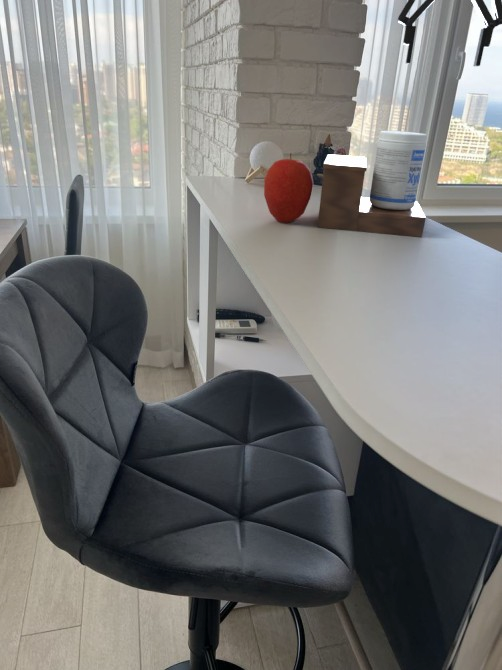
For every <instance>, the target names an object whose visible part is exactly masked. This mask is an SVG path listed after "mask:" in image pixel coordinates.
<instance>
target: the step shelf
mask: <svg viewBox="0 0 502 670" xmlns="http://www.w3.org/2000/svg"><path fill="white" fill-rule="evenodd" d="M367 166H368V165H367V157H365V156H352V155H341V154H327V155H326V158H325V160H324V161H323V164H322V169H323V172H322V180H321V182H322V183H321V191H320V199H319V210H318V218H317V228H321V229H331V230H343V231H352V232H363V233H371V234H372V233H373V234H383V235H393V236H403V237H414V238H423V235H424V229H425V223H426V219H427V218H426V215H425V213H424V212H423V210H422V207H421V205H420V204H419V202H418V201H415V205H414V207H413V208H412V209H409V210H390V209H383V208H378V207H375V206H373V205H372V204H371V203H370V201H369V199H370V197H368V196H367V197H365V196H363V188H364V183H365V182H364V181H365V175H366V172H367V170H368V169H367V168H368V167H367Z"/></svg>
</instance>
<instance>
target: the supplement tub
mask: <svg viewBox="0 0 502 670" xmlns="http://www.w3.org/2000/svg"><path fill="white" fill-rule="evenodd" d="M427 138H428V134H426V133H421V132H412V131H401V130H400V131H398V130H381V131H380V132H379V137H378V140H377V143H376V144H377V145H376V152H375V159H374V165H373V173H372V179H371V185H370V193H369V198H370V199H369V201H370V203H371V204H372V205H373V206H375V207H378V208H383V209H390V210H409V209H412V208H413V207H414V205H415V202H417V197H418V196H417V194H418V190H419V189H418V188H419V184H420V180H421V175H422V174H421V173H422V168H423V164H424V159H425V153H426V147H427Z"/></svg>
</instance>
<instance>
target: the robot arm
mask: <svg viewBox="0 0 502 670" xmlns="http://www.w3.org/2000/svg"><path fill="white" fill-rule="evenodd" d="M470 1H471V3H472V5H473V6H474V9H475V11H476V12H477V14H478V16H479V18H480V20H481V22H482V23H483V25H484V26H485V27H483V28H481V29H480V32H479V37H478V42H477V47H476V51H475V56H474V61H473V67H481V63H482V59H483V54H484V49H485V48H489V47H490V45H491V41H492V37H493V33H494V29H495V28H496V27H499V26H502V0H490V3H491V7H492V12H493V15H492V14H491V12H490V9H488V6H487V4H486V3H485V1H484V0H470ZM415 2H416V0H407V1H406V4H405V5H404V7H403V8H402V10H401V12H400V13H399V15H398V17H397V22H398V23H399V24H402V25H403V26H404V28H405V29H404V34H403V46H407V51H406V57H405V64H407V65H409V64H411V61H412V56H413V49H414V43H415V36H416V29H417V25H413V24H414V23H415V22H416V21H417V20H418V19H419V18H420V17H421V16H422V15H423V14H424V12H425V11H426V10H427V9H428V8H429V7H430V6H431V5H432V4H433V3H434V2H435V0H424V2H423V3H422V4H421V5H420V6H419V7H418V8H417V9H416V10H415V11H414V13H412V15H411V16H410V17H409V16H407V15H408V13H409V12H410V10H411V9H412V7H413V6H414V4H415ZM493 16H494V17H493Z"/></svg>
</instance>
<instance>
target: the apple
mask: <svg viewBox="0 0 502 670" xmlns="http://www.w3.org/2000/svg"><path fill="white" fill-rule="evenodd" d="M263 181H264V182H263V185H264V186H263V188H264V189H263V197H264V199H265V202H266V205H267V208H268V212H269V214H271V216H272V217H273V219H274V220H276V221H277V222H278V223H285V224H288V223H292V222H295V221H296V220H298V219H299V218H300V217H302V216H303V215H304V213H305V212H306V209H307V207H308V205H309V202H310V200H311V198H312V193H313V188H314V184H315V183H314V178H313V175H312V171H311V169H310V168H309V166H308V165H307V164H306V163H305V162H303V161H301V160H299V159H294V158H292V152H289V158H282V159H279V160H275V161H274V162H273V163H272V164H271V165H270V167H269V168H268V169H267V172H266V175H265V178H264V179H263Z"/></svg>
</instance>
